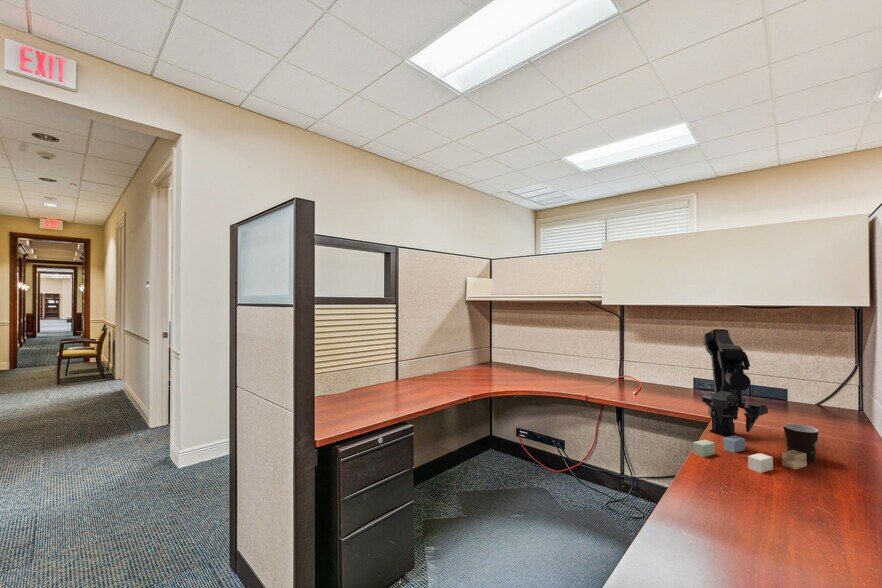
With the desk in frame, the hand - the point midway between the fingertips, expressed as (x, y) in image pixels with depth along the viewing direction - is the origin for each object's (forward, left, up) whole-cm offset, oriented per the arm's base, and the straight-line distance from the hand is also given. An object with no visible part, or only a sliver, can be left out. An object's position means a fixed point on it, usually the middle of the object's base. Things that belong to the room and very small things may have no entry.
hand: (733, 427), depth 138 cm
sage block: (-2, -13, -8) cm, 15 cm away
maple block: (+16, +3, -8) cm, 18 cm away
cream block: (+13, -9, -8) cm, 18 cm away
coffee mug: (+14, +13, -8) cm, 21 cm away
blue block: (0, 0, -8) cm, 8 cm away
